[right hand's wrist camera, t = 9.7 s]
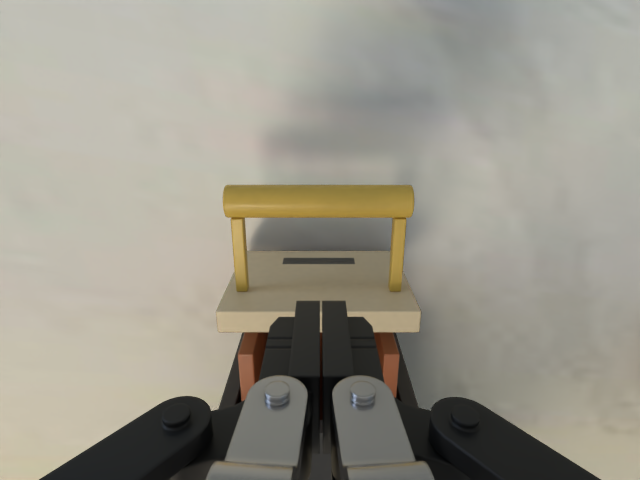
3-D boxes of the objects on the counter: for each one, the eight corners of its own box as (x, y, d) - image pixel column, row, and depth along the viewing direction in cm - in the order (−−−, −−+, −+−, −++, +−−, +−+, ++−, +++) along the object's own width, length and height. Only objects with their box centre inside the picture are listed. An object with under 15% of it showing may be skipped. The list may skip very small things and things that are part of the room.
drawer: (237, 164, 25) (203, 196, 18) (399, 165, 25) (433, 196, 18) (255, 428, 32) (237, 529, 25) (382, 428, 32) (400, 529, 25)
